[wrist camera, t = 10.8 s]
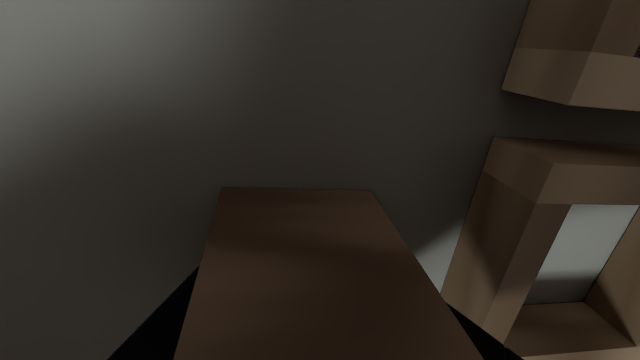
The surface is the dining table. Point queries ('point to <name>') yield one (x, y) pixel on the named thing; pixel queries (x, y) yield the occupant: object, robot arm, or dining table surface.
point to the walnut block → (313, 284)
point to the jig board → (557, 191)
